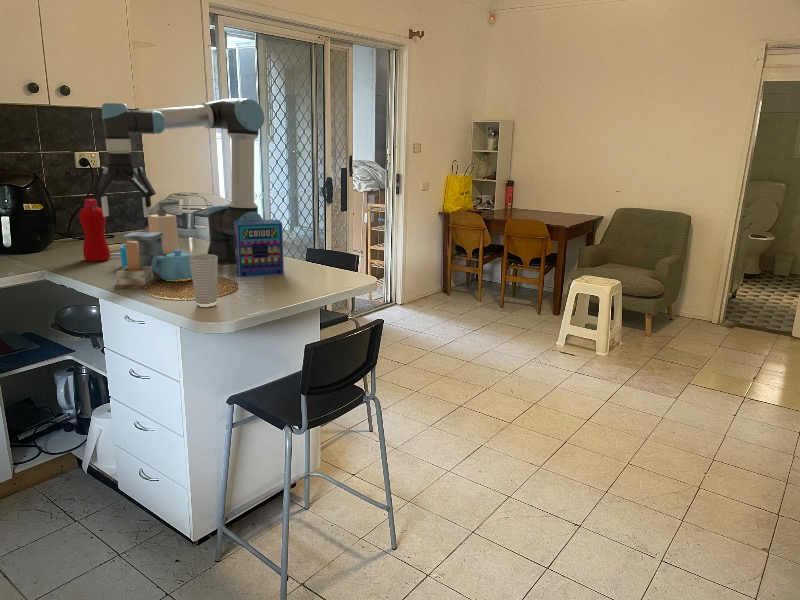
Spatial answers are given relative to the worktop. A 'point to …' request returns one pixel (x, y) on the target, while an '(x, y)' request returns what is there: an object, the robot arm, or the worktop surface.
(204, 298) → the cup
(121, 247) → the mug
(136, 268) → the peg
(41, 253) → the worktop surface
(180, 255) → the teapot
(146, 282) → the socket station
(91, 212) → the water bottle
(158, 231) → the soap dispenser
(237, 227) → the box
